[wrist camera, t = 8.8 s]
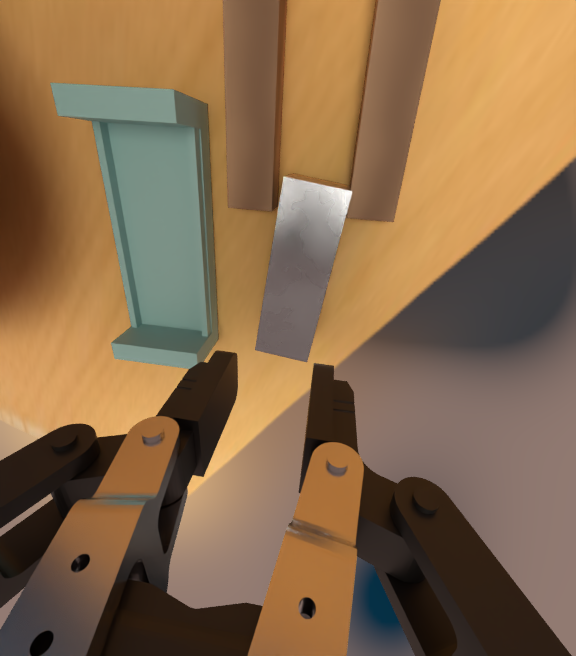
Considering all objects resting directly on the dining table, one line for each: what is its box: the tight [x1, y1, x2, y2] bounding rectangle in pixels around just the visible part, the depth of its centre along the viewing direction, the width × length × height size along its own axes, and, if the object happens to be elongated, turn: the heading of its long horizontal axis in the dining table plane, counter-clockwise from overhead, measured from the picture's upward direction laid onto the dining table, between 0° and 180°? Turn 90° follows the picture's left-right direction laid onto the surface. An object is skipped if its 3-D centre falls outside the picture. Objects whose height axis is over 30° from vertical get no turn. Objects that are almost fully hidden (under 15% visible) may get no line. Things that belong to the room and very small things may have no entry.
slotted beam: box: [223, 0, 441, 222], centre depth 19 cm, size 11×12×2 cm
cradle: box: [50, 83, 218, 369], centre depth 23 cm, size 7×18×5 cm, turn 177°
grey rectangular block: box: [255, 173, 352, 362], centre depth 23 cm, size 4×12×5 cm, turn 170°
